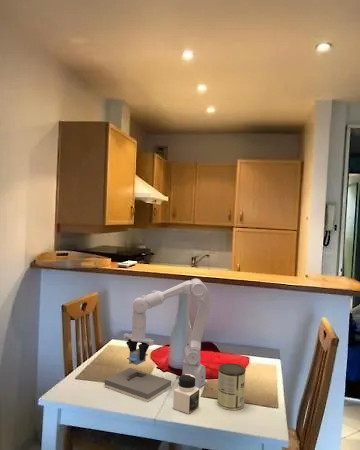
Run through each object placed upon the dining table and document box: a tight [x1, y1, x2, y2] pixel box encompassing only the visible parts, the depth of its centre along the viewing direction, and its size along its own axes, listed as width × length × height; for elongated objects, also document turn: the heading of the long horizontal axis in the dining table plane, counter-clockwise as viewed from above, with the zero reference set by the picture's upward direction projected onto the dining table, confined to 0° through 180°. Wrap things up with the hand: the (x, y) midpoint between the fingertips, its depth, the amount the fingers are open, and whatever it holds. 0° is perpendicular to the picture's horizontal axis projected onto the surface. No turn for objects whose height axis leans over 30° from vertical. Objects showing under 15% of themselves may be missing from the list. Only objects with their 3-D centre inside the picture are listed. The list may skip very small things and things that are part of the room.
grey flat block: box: [104, 367, 172, 403], centre depth 169 cm, size 22×16×3 cm
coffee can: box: [217, 362, 247, 411], centre depth 157 cm, size 10×10×14 cm
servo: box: [126, 348, 149, 366], centre depth 172 cm, size 4×10×5 cm, turn 148°
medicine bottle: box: [172, 374, 200, 415], centre depth 153 cm, size 7×7×12 cm
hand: (137, 358), depth 173 cm, fingers closed on servo, 4 cm apart
